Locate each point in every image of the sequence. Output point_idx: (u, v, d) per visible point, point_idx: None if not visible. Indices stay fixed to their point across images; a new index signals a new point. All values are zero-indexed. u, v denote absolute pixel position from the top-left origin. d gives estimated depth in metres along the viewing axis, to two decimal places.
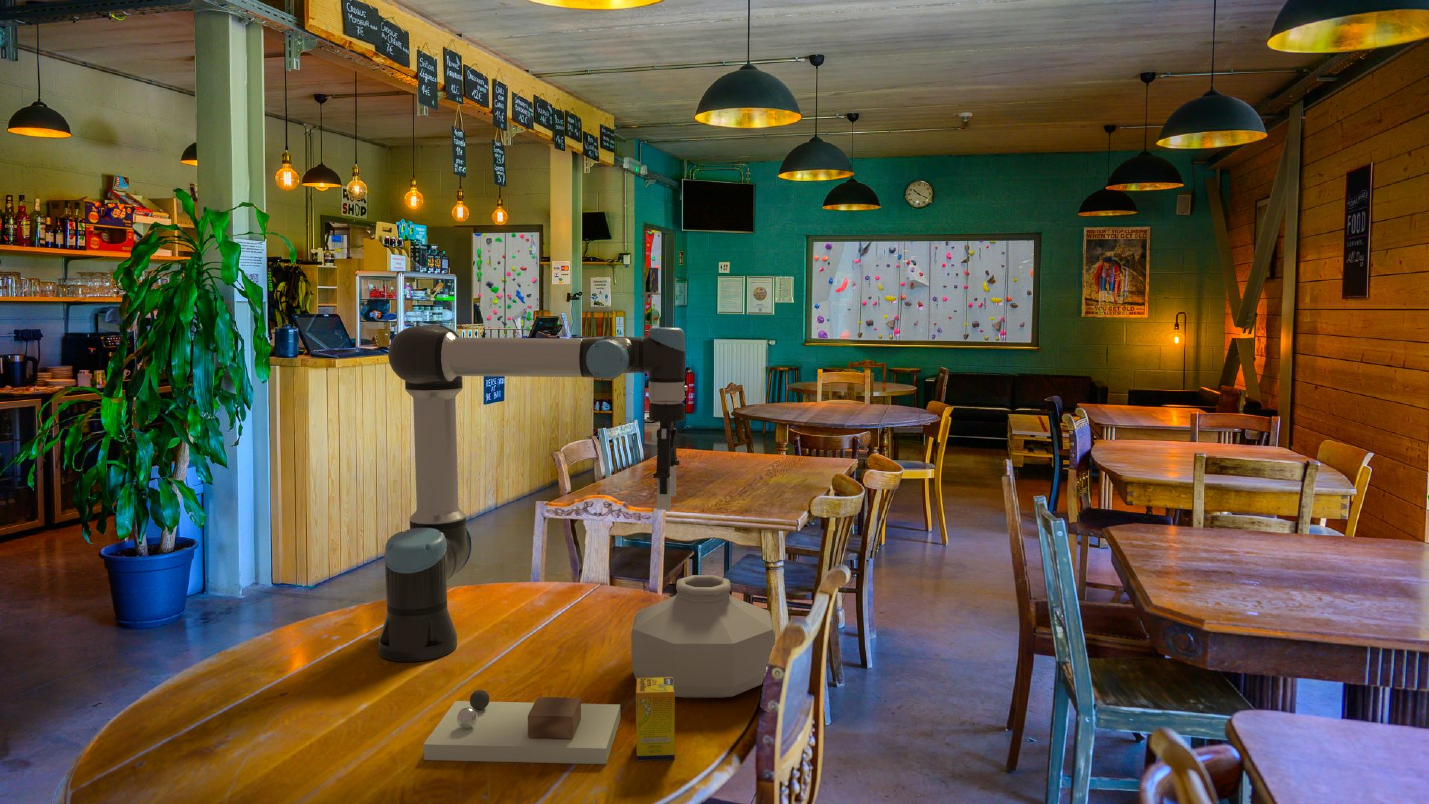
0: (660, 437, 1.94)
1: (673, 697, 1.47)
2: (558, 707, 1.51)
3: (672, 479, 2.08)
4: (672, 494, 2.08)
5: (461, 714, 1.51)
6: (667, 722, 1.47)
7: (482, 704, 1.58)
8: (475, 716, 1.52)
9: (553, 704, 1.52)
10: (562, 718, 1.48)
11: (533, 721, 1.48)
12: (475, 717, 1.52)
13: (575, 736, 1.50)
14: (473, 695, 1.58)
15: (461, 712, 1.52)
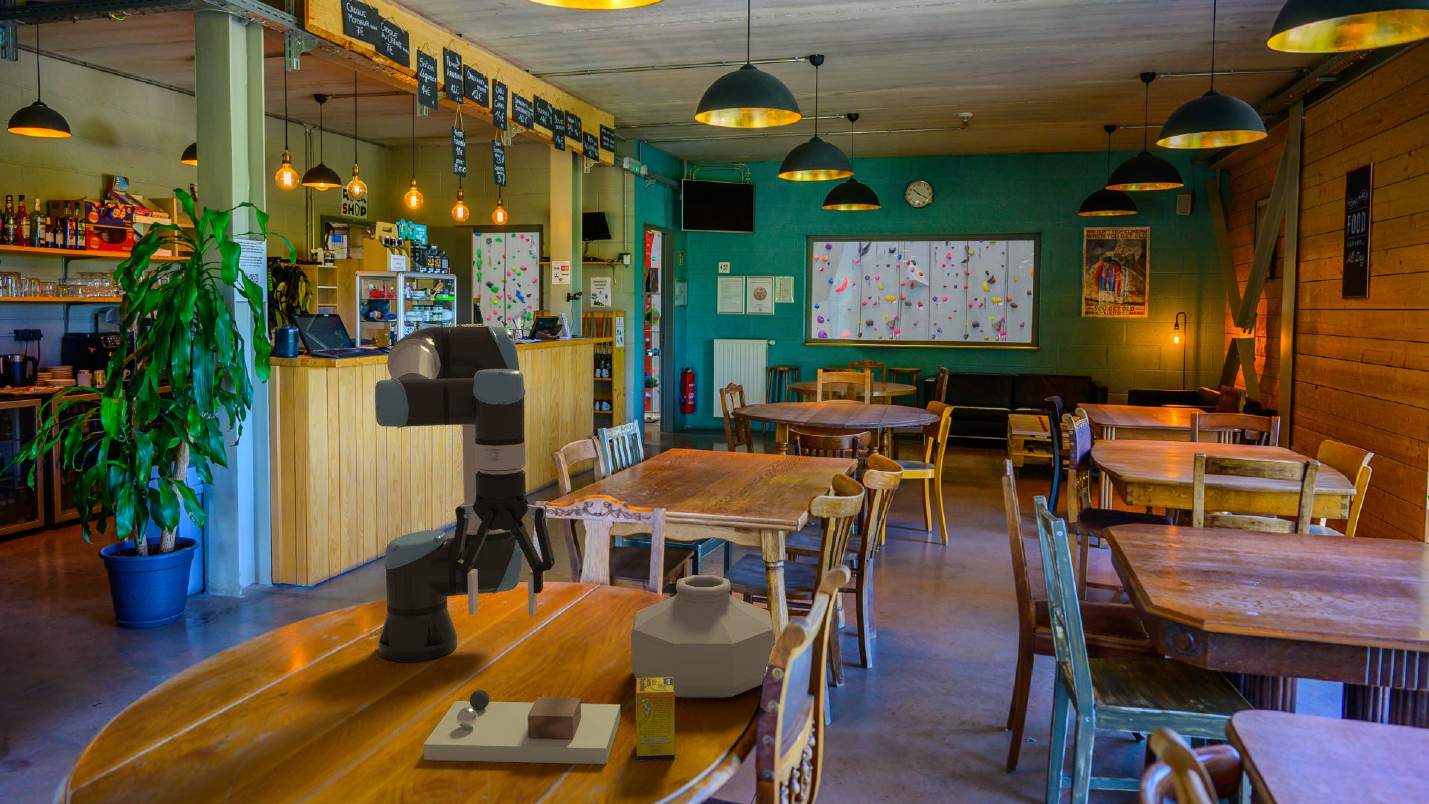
0: None
1: (673, 697, 1.47)
2: (558, 707, 1.51)
3: None
4: None
5: (461, 714, 1.51)
6: (667, 722, 1.47)
7: (482, 704, 1.58)
8: (475, 716, 1.52)
9: (553, 704, 1.52)
10: (562, 718, 1.48)
11: (533, 721, 1.48)
12: (475, 717, 1.52)
13: (575, 736, 1.50)
14: (473, 695, 1.58)
15: (461, 712, 1.52)
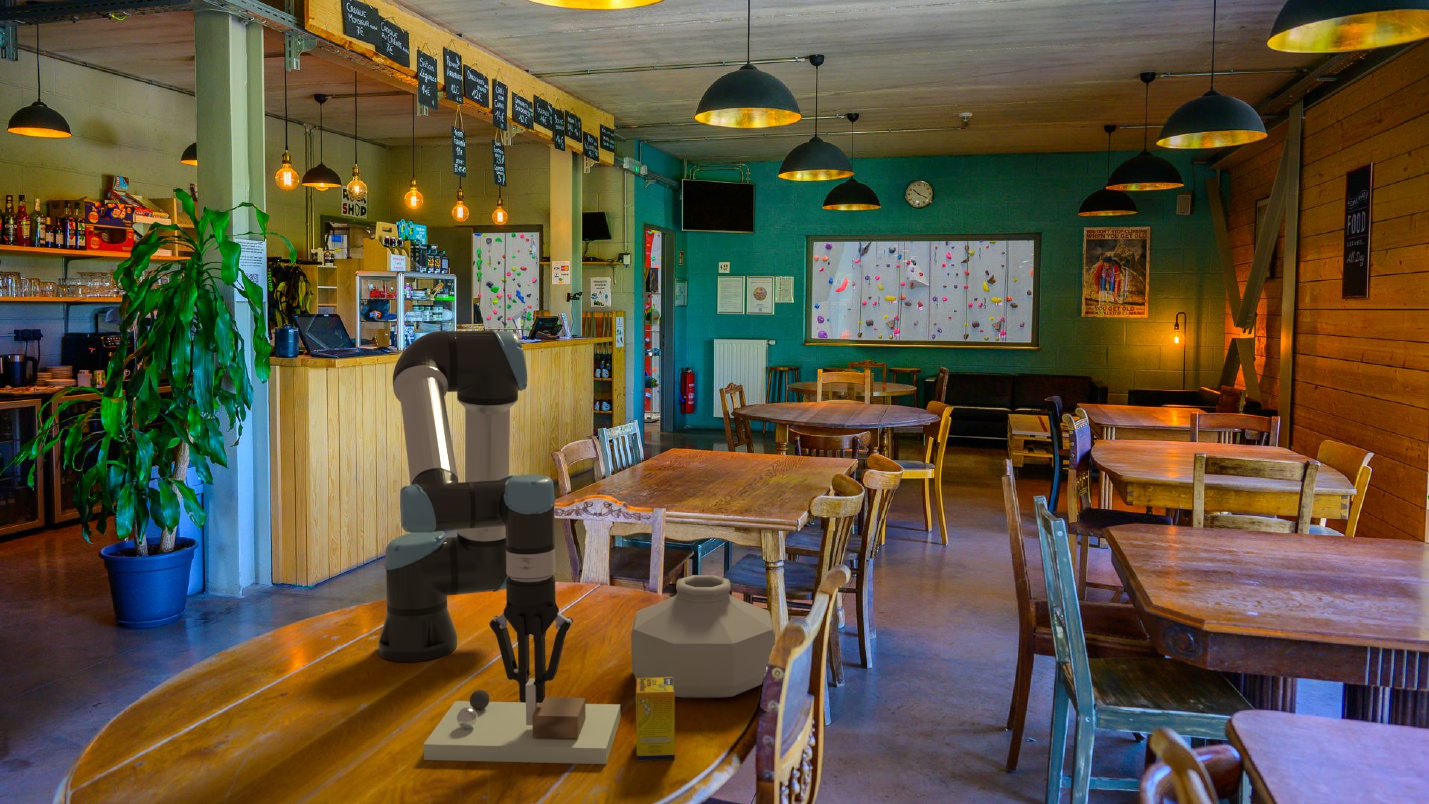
0: None
1: (673, 697, 1.47)
2: (562, 707, 1.51)
3: None
4: None
5: (461, 714, 1.51)
6: (667, 722, 1.47)
7: (482, 704, 1.58)
8: (475, 716, 1.52)
9: (558, 704, 1.52)
10: (567, 718, 1.48)
11: (538, 721, 1.48)
12: (475, 717, 1.52)
13: None
14: (473, 695, 1.58)
15: (461, 712, 1.52)
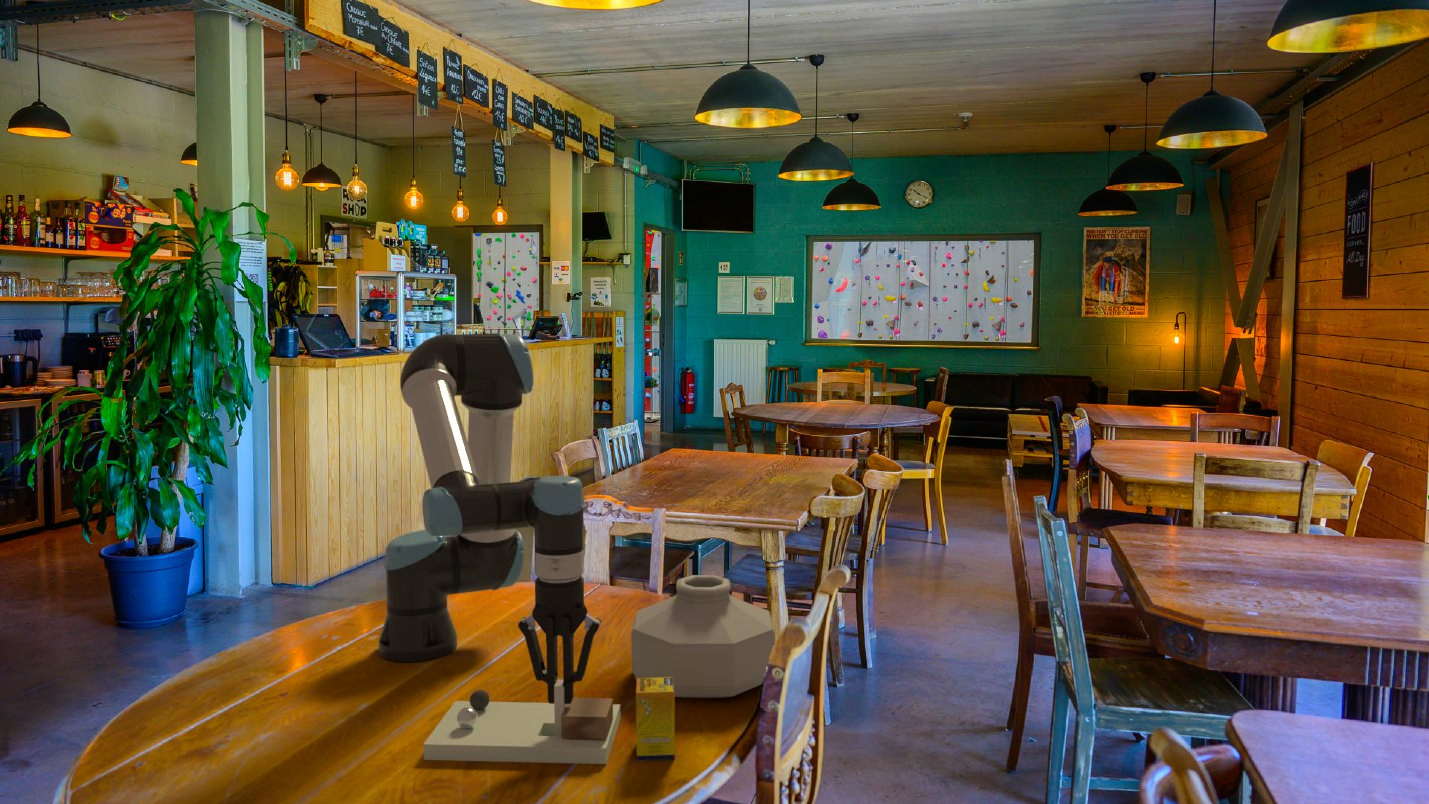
0: None
1: (673, 697, 1.47)
2: (590, 708, 1.51)
3: None
4: None
5: (461, 714, 1.51)
6: (667, 722, 1.47)
7: (482, 704, 1.58)
8: (475, 716, 1.52)
9: (586, 705, 1.52)
10: (596, 718, 1.48)
11: (567, 722, 1.48)
12: (475, 717, 1.52)
13: None
14: (473, 695, 1.58)
15: (461, 712, 1.52)
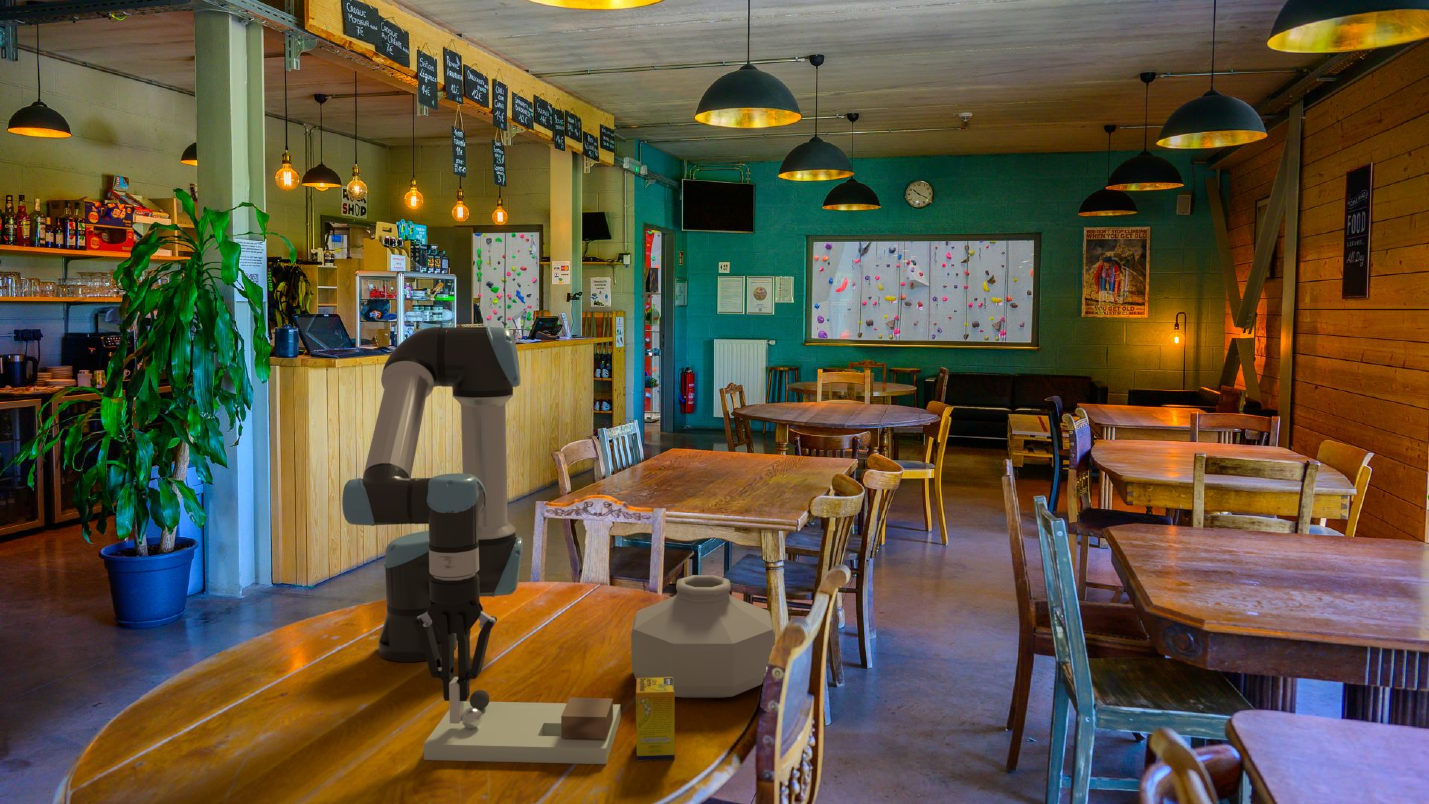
0: None
1: (673, 697, 1.47)
2: (590, 708, 1.51)
3: None
4: None
5: (469, 714, 1.51)
6: (667, 722, 1.47)
7: (482, 704, 1.58)
8: (480, 720, 1.52)
9: (586, 705, 1.52)
10: (596, 718, 1.48)
11: (567, 722, 1.48)
12: (480, 721, 1.52)
13: None
14: (473, 695, 1.58)
15: (469, 712, 1.51)
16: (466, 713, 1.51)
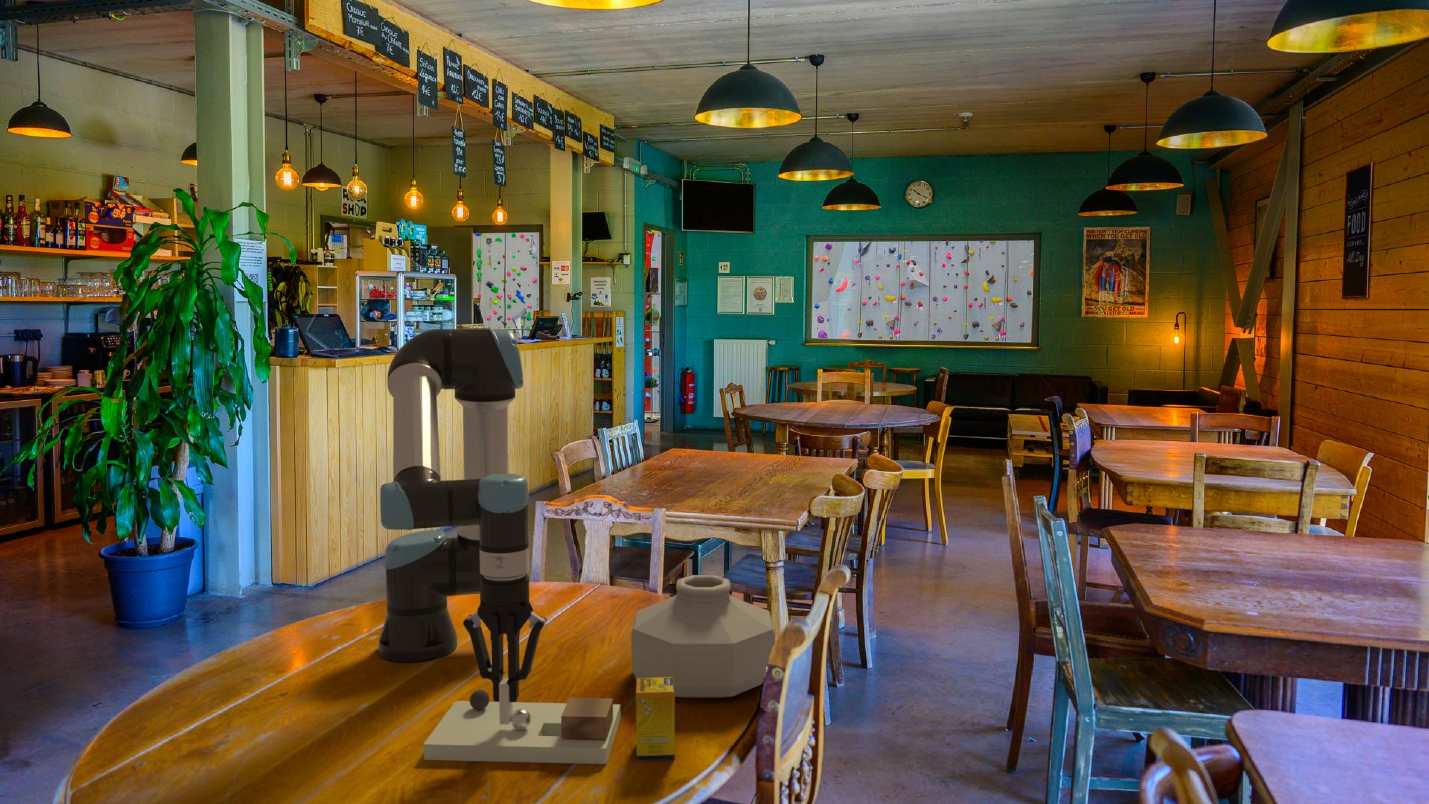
0: None
1: (673, 697, 1.47)
2: (590, 708, 1.51)
3: None
4: None
5: (512, 725, 1.51)
6: (667, 722, 1.47)
7: (482, 704, 1.58)
8: (518, 711, 1.51)
9: (586, 705, 1.52)
10: (596, 718, 1.48)
11: (567, 722, 1.48)
12: (518, 711, 1.51)
13: None
14: (473, 695, 1.58)
15: (512, 725, 1.51)
16: (514, 727, 1.51)
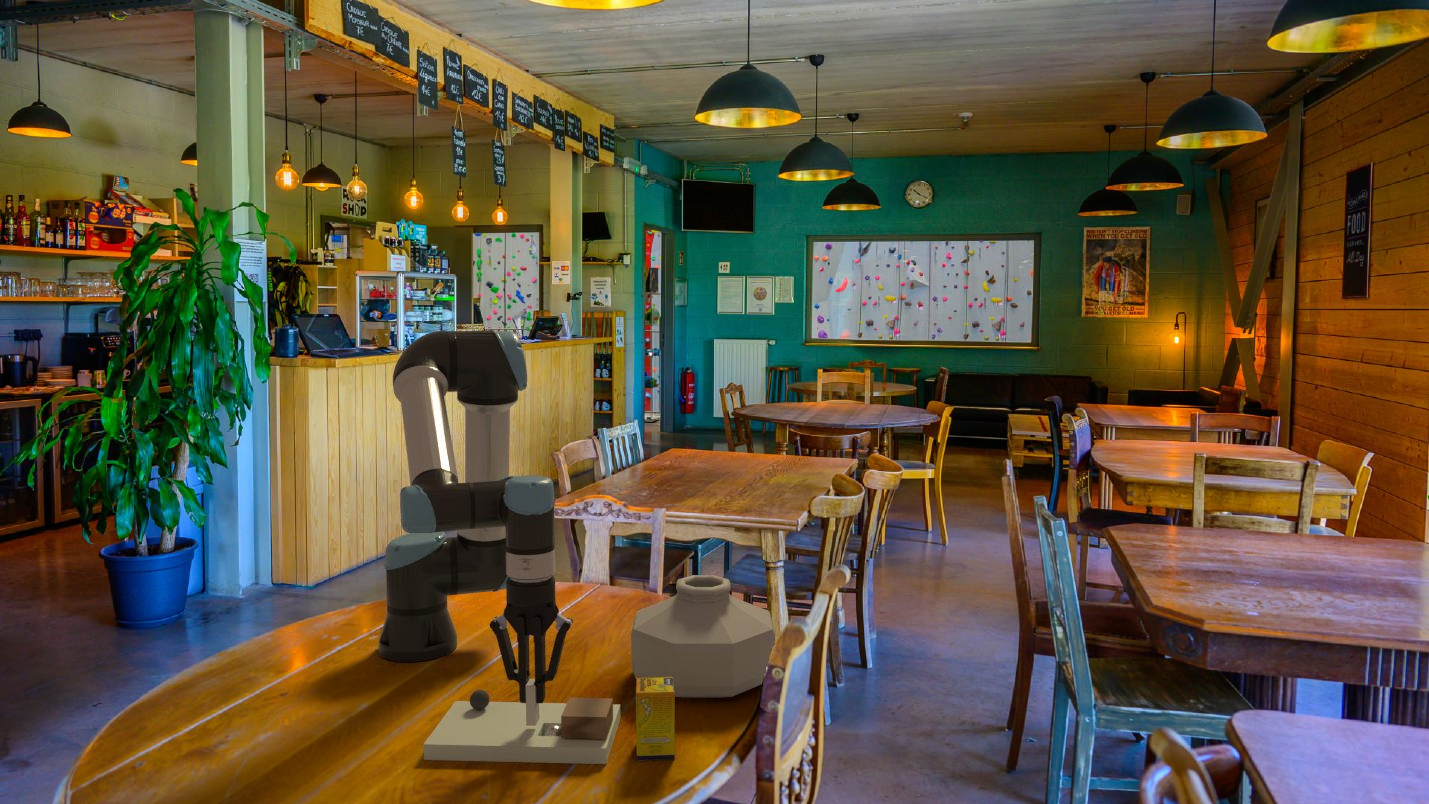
0: None
1: (673, 697, 1.47)
2: (590, 708, 1.51)
3: None
4: None
5: None
6: (667, 722, 1.47)
7: (482, 704, 1.58)
8: None
9: (586, 705, 1.52)
10: (596, 718, 1.48)
11: (567, 722, 1.48)
12: None
13: None
14: (473, 695, 1.58)
15: None
16: (560, 735, 1.51)
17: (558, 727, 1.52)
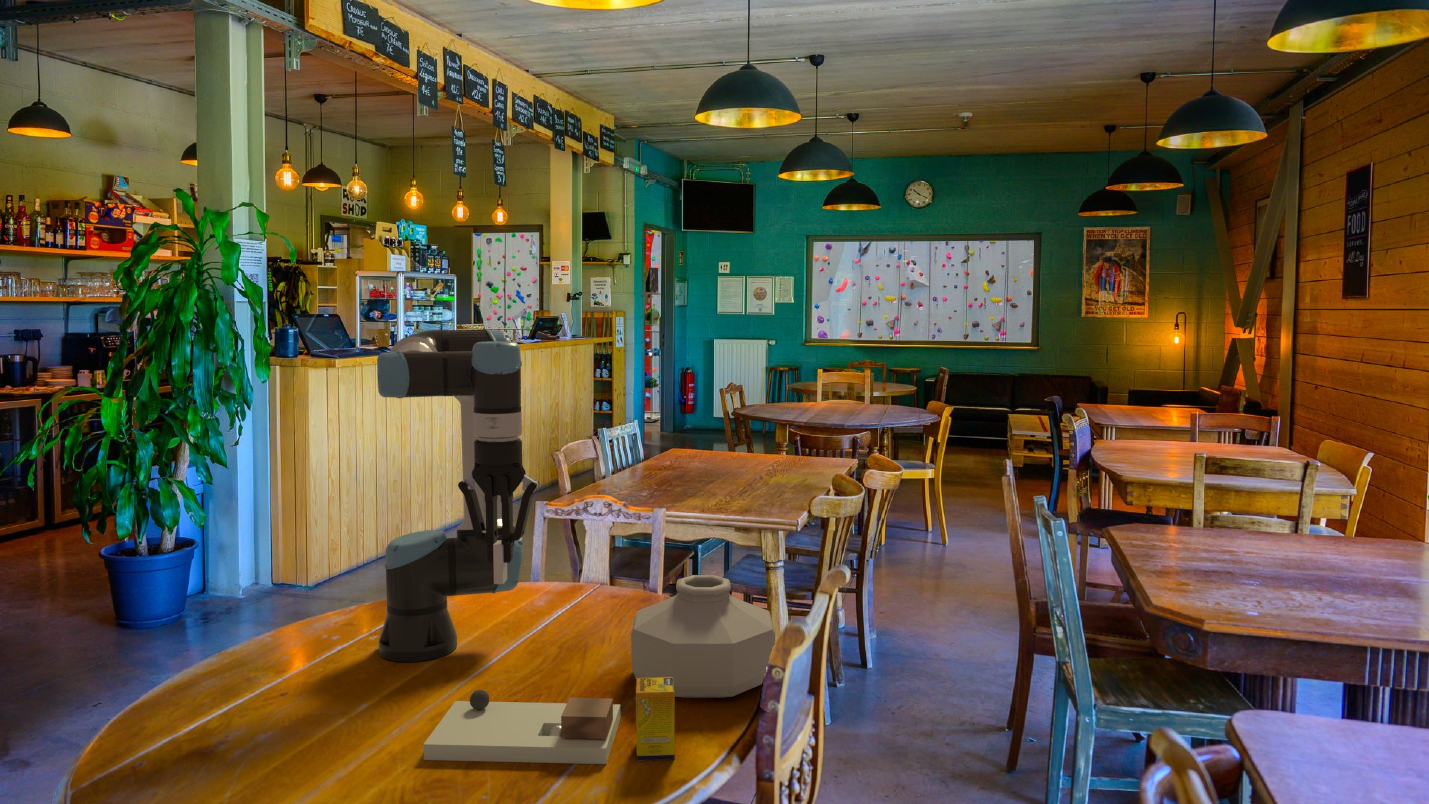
0: None
1: (673, 697, 1.47)
2: (590, 708, 1.51)
3: None
4: None
5: None
6: (667, 722, 1.47)
7: (482, 704, 1.58)
8: None
9: (586, 705, 1.52)
10: (596, 718, 1.48)
11: (567, 722, 1.48)
12: None
13: None
14: (473, 695, 1.58)
15: None
16: None
17: None
